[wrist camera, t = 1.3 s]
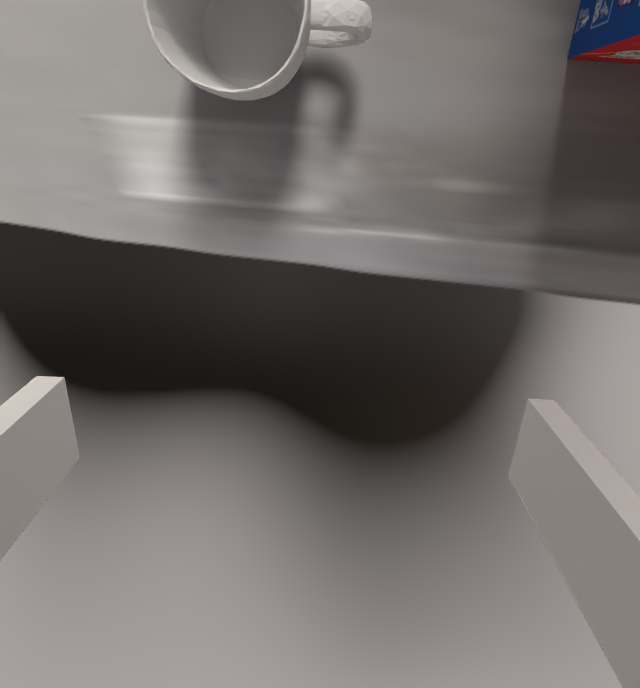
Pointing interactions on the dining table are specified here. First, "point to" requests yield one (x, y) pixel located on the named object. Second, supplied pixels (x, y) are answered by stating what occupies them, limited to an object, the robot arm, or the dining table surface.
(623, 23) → the pasta box
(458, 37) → the dining table surface
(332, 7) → the mug
